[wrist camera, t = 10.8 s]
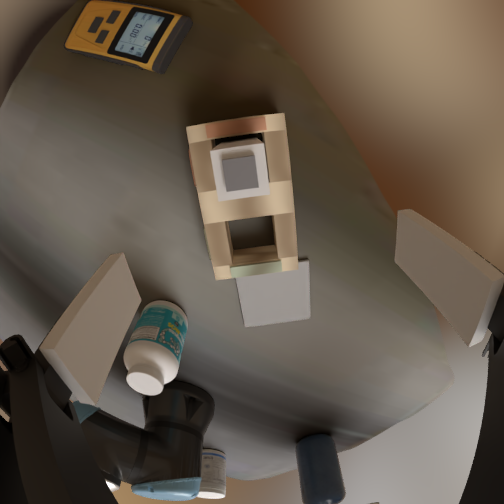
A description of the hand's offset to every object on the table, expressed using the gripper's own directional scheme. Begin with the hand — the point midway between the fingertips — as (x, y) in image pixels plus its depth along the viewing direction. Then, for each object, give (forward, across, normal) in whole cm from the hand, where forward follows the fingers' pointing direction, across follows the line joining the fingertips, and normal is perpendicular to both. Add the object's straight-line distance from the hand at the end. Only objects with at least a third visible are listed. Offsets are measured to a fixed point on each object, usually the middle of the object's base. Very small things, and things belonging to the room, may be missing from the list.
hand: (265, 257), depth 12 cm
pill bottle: (+22, -16, -19) cm, 33 cm away
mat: (+22, +1, -17) cm, 28 cm away
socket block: (+22, -1, -2) cm, 22 cm away
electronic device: (+22, -12, +22) cm, 34 cm away
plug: (+22, -1, +2) cm, 22 cm away
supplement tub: (+23, -23, -73) cm, 80 cm away
